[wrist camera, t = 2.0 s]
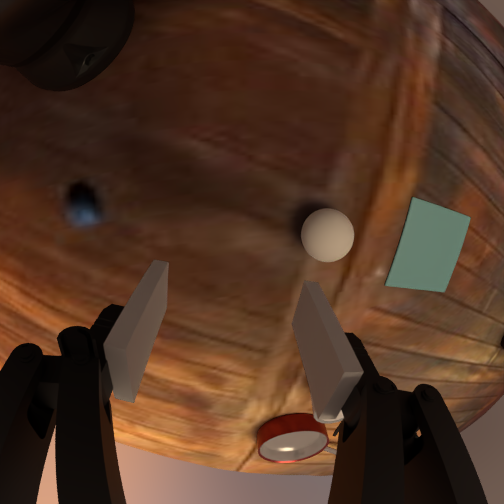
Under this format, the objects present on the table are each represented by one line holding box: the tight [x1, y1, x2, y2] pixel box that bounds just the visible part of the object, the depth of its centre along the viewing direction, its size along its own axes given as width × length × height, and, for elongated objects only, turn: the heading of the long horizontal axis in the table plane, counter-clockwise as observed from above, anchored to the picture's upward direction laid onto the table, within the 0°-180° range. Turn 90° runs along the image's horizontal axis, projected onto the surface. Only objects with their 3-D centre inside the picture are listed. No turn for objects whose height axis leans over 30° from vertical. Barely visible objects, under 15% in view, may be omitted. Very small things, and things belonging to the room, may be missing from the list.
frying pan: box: [257, 413, 337, 463], centre depth 45 cm, size 32×13×6 cm, turn 60°
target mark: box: [385, 197, 471, 292], centre depth 33 cm, size 12×12×1 cm
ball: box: [301, 208, 354, 262], centre depth 29 cm, size 6×6×6 cm
